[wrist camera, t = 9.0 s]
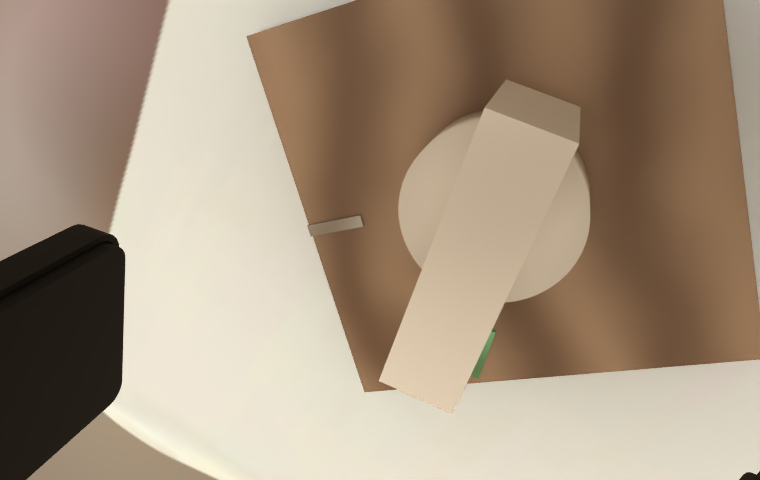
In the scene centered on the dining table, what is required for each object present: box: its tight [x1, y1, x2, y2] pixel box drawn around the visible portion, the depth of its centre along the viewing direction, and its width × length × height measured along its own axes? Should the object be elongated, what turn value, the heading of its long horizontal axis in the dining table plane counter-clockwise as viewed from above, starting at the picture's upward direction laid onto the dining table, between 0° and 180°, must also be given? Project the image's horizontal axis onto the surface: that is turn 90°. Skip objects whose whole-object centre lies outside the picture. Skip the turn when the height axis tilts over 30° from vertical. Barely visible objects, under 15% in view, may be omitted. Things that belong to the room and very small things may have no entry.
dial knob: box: [379, 79, 590, 414], centre depth 27 cm, size 16×8×9 cm, turn 162°
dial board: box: [247, 0, 760, 392], centre depth 30 cm, size 20×20×2 cm
